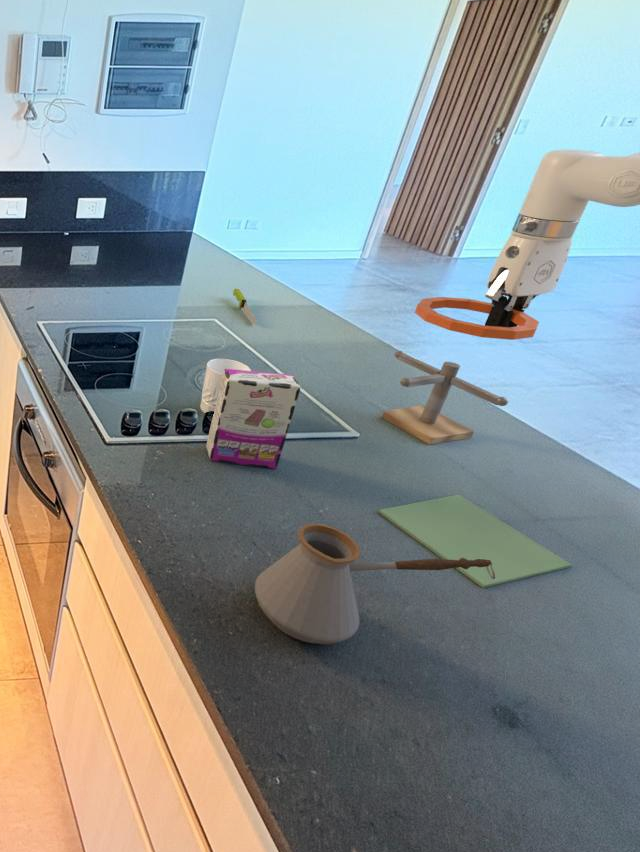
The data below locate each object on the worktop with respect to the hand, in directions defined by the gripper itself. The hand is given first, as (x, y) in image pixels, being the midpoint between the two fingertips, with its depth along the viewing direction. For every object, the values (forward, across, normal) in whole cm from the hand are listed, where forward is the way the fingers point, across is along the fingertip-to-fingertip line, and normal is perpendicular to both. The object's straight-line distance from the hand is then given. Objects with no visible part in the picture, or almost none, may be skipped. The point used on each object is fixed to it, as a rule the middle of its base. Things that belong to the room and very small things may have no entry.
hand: (499, 327), depth 111 cm
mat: (+21, -30, -26) cm, 45 cm away
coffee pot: (+21, -62, -34) cm, 74 cm away
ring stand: (+20, -10, +1) cm, 23 cm away
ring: (-3, -7, 0) cm, 8 cm away
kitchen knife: (+20, 0, +60) cm, 64 cm away
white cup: (+20, -42, +16) cm, 50 cm away
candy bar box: (+20, -50, 0) cm, 54 cm away
